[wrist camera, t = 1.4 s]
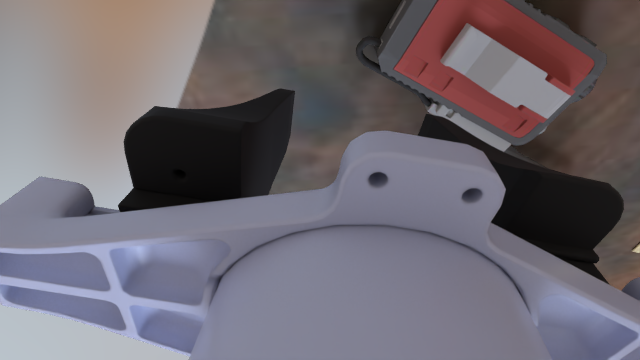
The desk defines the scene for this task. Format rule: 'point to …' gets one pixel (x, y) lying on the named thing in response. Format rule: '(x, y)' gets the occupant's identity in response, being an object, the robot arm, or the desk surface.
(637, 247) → the tape line
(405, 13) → the walkie-talkie
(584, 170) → the desk surface
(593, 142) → the desk surface
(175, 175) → the robot arm
